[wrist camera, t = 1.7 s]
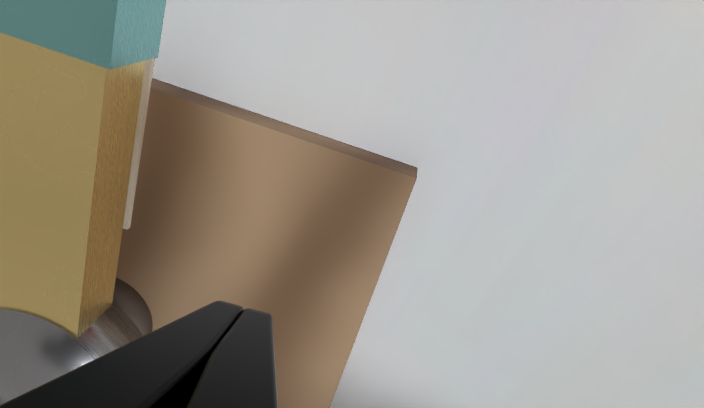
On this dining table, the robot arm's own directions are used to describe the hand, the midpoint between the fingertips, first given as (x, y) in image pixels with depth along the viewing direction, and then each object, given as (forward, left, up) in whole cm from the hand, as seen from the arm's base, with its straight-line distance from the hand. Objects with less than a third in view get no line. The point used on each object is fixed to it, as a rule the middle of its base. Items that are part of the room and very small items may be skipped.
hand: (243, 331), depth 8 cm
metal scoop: (+7, +4, -7) cm, 10 cm away
